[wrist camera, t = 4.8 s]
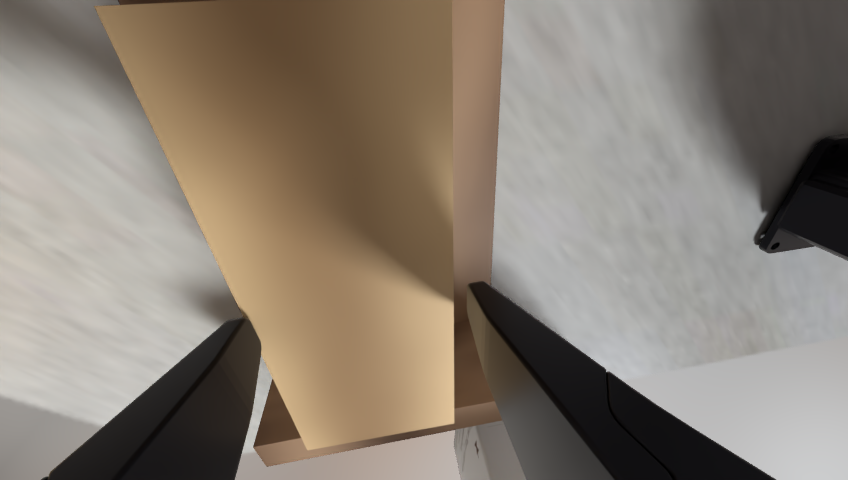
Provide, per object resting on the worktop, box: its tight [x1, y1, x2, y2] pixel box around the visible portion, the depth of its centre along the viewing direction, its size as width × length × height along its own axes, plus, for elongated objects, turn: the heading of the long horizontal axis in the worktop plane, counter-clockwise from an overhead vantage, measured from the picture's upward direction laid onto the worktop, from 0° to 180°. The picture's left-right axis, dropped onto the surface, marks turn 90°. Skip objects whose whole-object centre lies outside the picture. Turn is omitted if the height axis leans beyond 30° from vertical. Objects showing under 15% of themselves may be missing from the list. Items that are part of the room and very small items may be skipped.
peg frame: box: [118, 0, 505, 467], centre depth 11 cm, size 11×18×5 cm, turn 4°
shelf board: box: [94, 0, 454, 450], centre depth 9 cm, size 5×12×3 cm, turn 3°
